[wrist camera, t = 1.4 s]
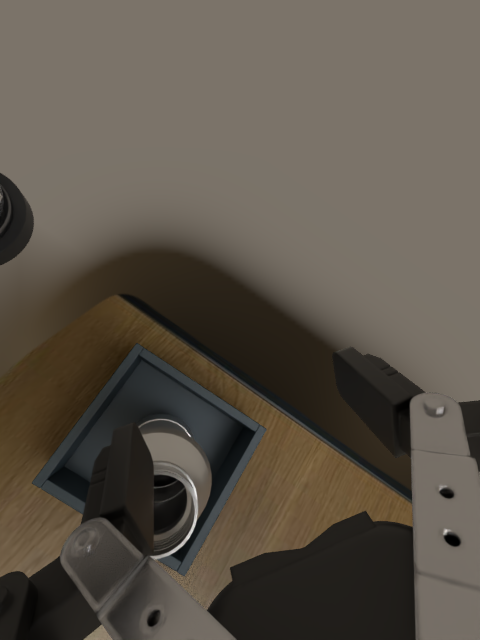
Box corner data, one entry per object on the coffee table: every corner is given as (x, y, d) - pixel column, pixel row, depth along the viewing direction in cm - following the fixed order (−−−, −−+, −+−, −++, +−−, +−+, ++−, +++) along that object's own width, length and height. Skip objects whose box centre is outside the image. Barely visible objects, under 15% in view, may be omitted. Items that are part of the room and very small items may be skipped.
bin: (52, 468, 32) (31, 483, 26) (140, 350, 36) (136, 342, 30) (181, 547, 33) (184, 577, 27) (251, 424, 37) (266, 429, 31)
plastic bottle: (182, 486, 33) (209, 613, 14) (114, 470, 32) (47, 583, 13) (201, 421, 35) (247, 457, 16) (137, 404, 34) (107, 420, 15)
